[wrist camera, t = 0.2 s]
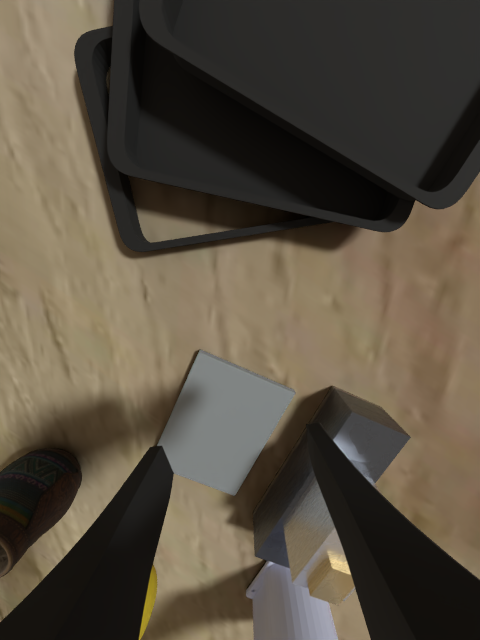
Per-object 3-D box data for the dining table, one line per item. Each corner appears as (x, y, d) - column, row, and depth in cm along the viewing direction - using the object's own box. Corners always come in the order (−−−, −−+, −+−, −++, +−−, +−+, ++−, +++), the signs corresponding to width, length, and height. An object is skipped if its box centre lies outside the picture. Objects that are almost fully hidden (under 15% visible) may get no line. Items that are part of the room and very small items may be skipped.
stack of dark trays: (160, 306, 20) (132, 320, 15) (23, -16, 15) (-89, -159, 10) (505, 189, 18) (611, 159, 13) (486, -248, 12) (655, -601, 7)
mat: (235, 490, 25) (234, 495, 24) (151, 459, 24) (148, 464, 23) (293, 389, 22) (295, 393, 21) (200, 349, 21) (198, 351, 20)
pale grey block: (325, 539, 21) (348, 613, 17) (282, 523, 21) (294, 594, 16) (372, 478, 19) (411, 543, 15) (326, 460, 19) (352, 520, 14)
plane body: (295, 527, 26) (304, 573, 22) (252, 512, 26) (254, 556, 22) (381, 407, 22) (410, 437, 18) (332, 385, 22) (352, 411, 18)
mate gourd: (22, 479, 25) (-117, 615, 15) (30, 426, 23) (-121, 541, 14) (85, 497, 25) (-12, 639, 16) (97, 446, 24) (-2, 570, 14)
